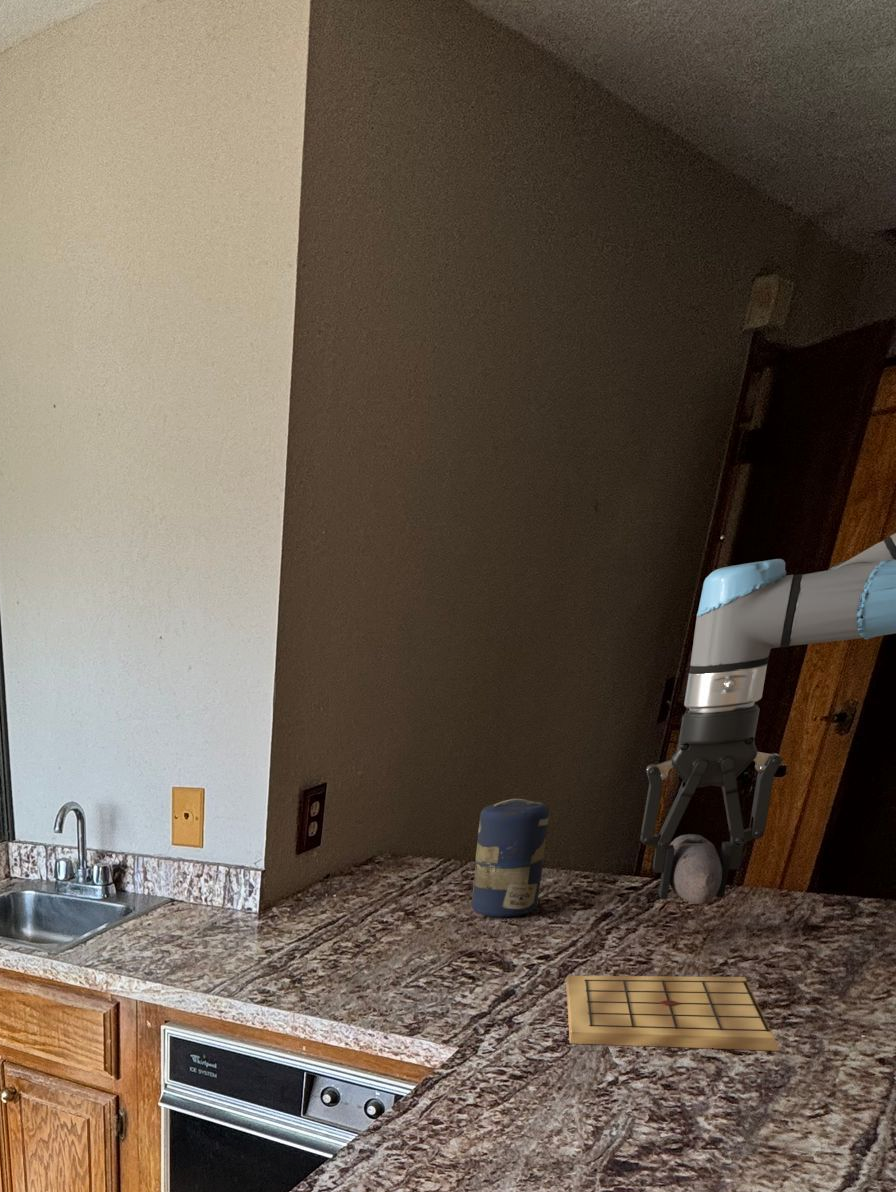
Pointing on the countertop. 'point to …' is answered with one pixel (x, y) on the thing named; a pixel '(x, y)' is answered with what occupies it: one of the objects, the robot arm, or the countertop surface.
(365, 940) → the countertop surface
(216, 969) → the countertop surface
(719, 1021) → the board
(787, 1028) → the countertop surface
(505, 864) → the canister
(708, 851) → the perforated stone tool
